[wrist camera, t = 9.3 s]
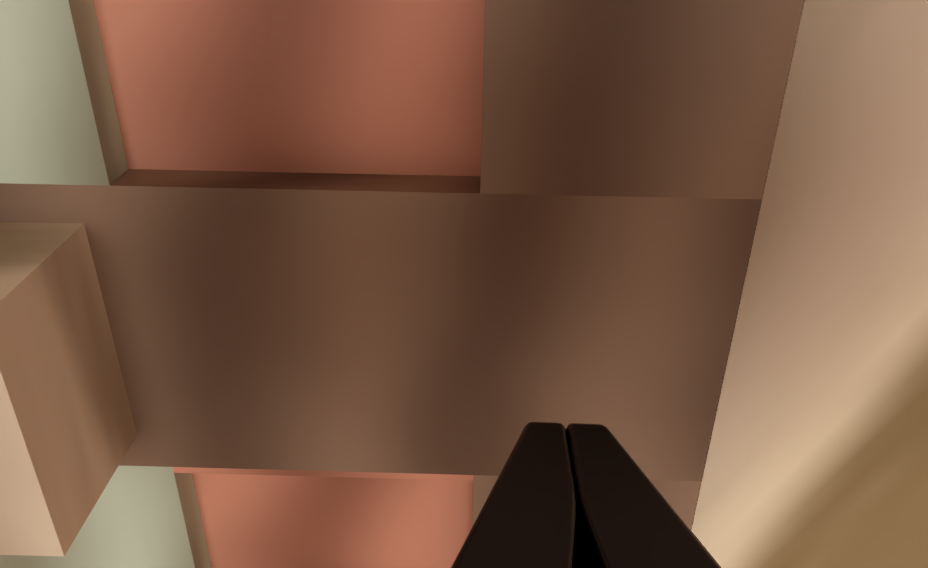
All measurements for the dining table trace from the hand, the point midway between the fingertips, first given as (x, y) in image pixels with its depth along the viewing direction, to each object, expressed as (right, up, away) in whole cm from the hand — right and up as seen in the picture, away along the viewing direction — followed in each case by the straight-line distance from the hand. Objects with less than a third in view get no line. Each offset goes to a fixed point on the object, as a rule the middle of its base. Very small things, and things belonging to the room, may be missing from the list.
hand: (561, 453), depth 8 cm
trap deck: (-6, +1, +12) cm, 13 cm away
